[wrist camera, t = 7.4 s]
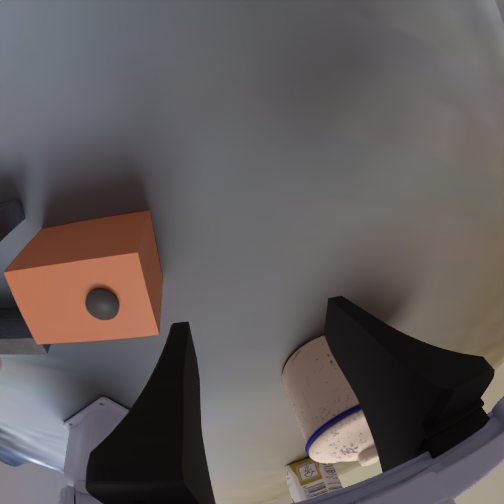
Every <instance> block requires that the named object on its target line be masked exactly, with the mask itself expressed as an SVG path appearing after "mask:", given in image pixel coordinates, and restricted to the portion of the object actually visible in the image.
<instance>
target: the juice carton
mask: <svg viewBox="0 0 504 504" xmlns="http://www.w3.org/2000/svg"><path fill="white" fill-rule="evenodd" d="M286 478H287V484H288V488H289V491H290V494H291V497H292V500H293V503H296V502H300V501H304V500H307V499H311V498H314V497H318V496H321V495H324V494H328V493H331V492H334V491H337V490H340V489H343V487H342V486H341V483H340V480H339V478H338V476H337V473H336V471H335V469H334V467H333V465H332V464H331V463H319V462H316V461H314V460H313V459H311V458H310V457H309V458H307V459H304V460H301V461H298V462H296V463H293V464H290V465H287V466H286Z"/></svg>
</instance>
